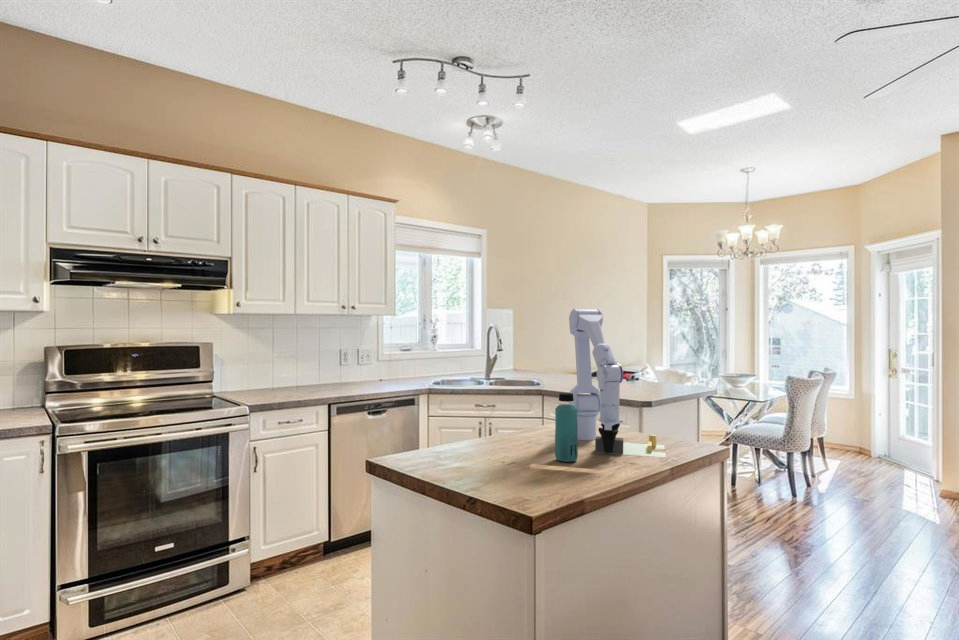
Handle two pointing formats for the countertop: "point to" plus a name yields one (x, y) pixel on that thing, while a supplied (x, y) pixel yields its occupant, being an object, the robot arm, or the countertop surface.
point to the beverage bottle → (566, 429)
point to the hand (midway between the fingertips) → (609, 449)
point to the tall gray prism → (616, 449)
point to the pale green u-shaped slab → (643, 448)
